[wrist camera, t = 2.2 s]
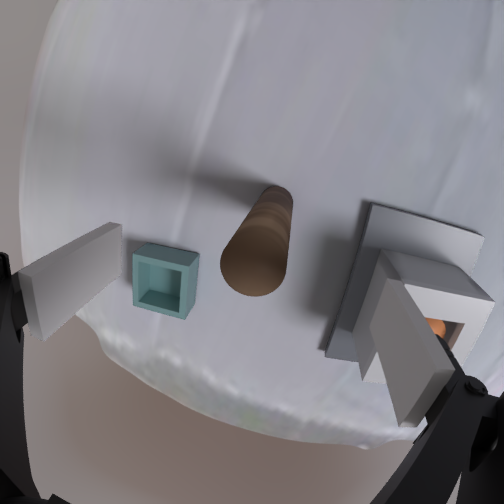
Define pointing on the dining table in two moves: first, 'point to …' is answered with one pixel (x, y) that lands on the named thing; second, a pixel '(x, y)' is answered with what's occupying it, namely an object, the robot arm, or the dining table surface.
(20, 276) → the robot arm
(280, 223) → the brown wooden rod
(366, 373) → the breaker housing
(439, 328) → the button
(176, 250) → the box
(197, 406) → the dining table surface
